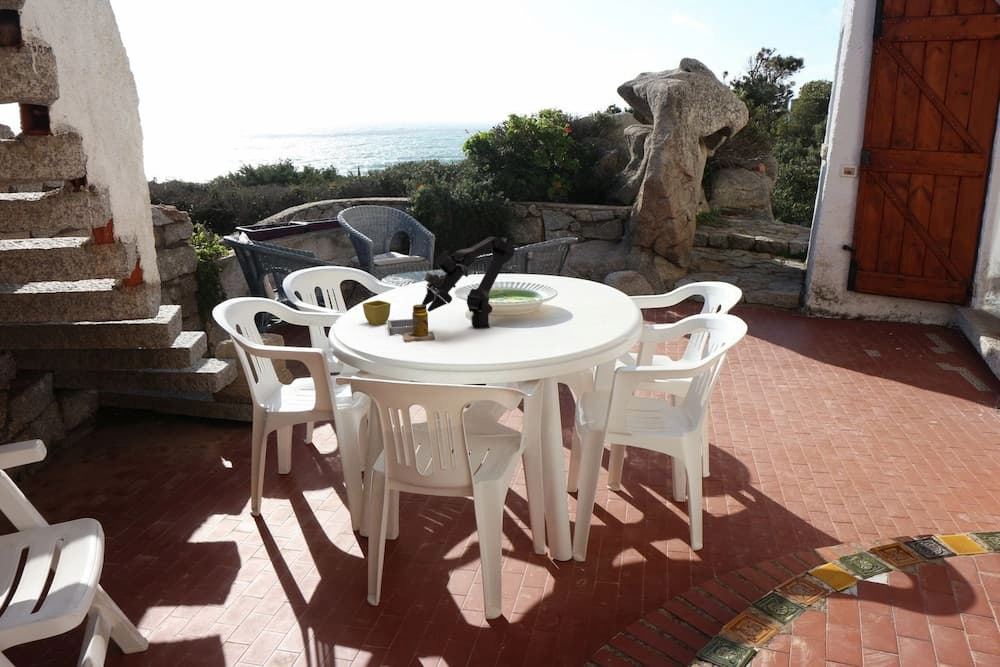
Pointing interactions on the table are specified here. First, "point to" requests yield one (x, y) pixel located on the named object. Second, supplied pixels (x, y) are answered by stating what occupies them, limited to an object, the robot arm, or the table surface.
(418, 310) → the condiment
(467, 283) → the table surface
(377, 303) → the flower pot
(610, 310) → the table surface
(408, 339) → the walnut board
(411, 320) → the parts tub
